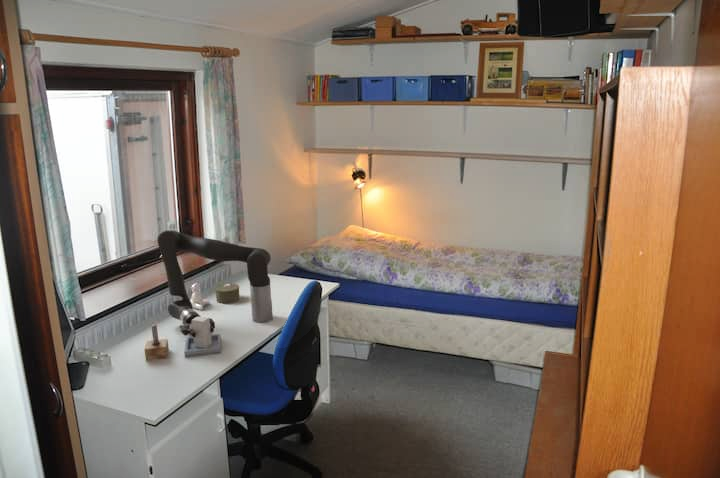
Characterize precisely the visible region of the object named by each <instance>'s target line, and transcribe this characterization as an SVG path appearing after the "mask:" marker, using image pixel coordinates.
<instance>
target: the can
mask: <svg viewBox="0 0 720 478" xmlns="http://www.w3.org/2000/svg"><path fill="white" fill-rule="evenodd" d="M214 289H215V298H216V303H218V304H221V303H222V305H223V304H224V305H225V304H226V305H227V304H234V303H237V302H238V301H239V300H240V299H241V298H240V285H239V284H237V283H223V284H219V285H216V286H215V287H214Z"/></svg>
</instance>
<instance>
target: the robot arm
mask: <svg viewBox="0 0 720 478" xmlns="http://www.w3.org/2000/svg"><path fill="white" fill-rule="evenodd" d="M156 242H157V245H158V248H159V251H160V255H161V257H162V261H163V264H164V267H165V268H164V269H165V274H166V277H167V283H168V284H167V285H168V290H169V291H168V292H169V295H170V296H172V297H180V298H181V299H180V300H176V301H175V300H174V301H171V302H170V303H169V304H168V306H167V313H168V314H169V316H171V317H172V318H174V319H176V320H180V321H181V324H182V325H181V324H180V325H179V331H180V333H181V334H182V335H184V336H188V335H189V336H190V337H196V335H195V331H194V330H193V328H192V319H194V318H196V317H197V316H198V317H202V316H201V315H200V314H199V313H198V312H197V311H195V310H194V308H192V304H191V302H190V300H191V299H190V298H189V295H188V293H187V290H186V285H185V279H184V275H183V272H182V269H181V267H180V264H179V261H178V257H177V251H181V252H189V253H192V254H194V255H196V256H198V257H202V258H204V259H208V260H213V261H217V262H243V263H246V269H247V278H248V281H249V286H250V287H249V289H250V301H251V302H250V303H251V319H252V321H253V322H255V323H266V322H267V323H268V322H271V321H273V319H274V316H273V302H272V301H273V300H272V290H271V279H270V277H269V270H268V265H269V264H270V262H271V259H272V258H271V254H270V253H269V252H268V251H267V250H266V249H264V248H261V247H260V248H259V247H249V246H244V245H238V244H234V243H230V242H225V241H222V240H219V239H218V240H217V239H213V238H207V237H196V236H192V235H188V234H186V233H182V232H179V231H176V230H174V229H173V230H171V229H167V230H166V229H165V230H162V231H161V232H159V234H158V235H157V238H156ZM209 320H210V330H211V334H212V333H214V331H215V330H214V329H216V324H215V321H214V320H213V318H210V317H209Z"/></svg>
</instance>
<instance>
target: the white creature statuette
mask: <svg viewBox="0 0 720 478" xmlns="http://www.w3.org/2000/svg"><path fill="white" fill-rule="evenodd" d="M189 289H190V290H191V291H192V292H193V293H192V294H191V298H190V299H189V300H190V302H191V304H192V307H193V308H192V309H195V308H196V309H195V310H198V309H199V311H203V310H204V307H205V306H207V305H208V304H209V305H210V300H209V299H203V296H202V294H201V287H200V284H199V283H194V284H192V285H191V286H190V287H189ZM203 306H204V307H203Z"/></svg>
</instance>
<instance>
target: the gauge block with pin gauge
mask: <svg viewBox="0 0 720 478" xmlns="http://www.w3.org/2000/svg"><path fill="white" fill-rule="evenodd" d="M151 334H152V340H147V341H146V343H145V347H144V357H145V362H147V361H155V360H165V359H167V358H168V355H169V350H170V349H169V341H168V340H169V339H168V338H162V339H159V333H158V325H157V324H152V325H151Z"/></svg>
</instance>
